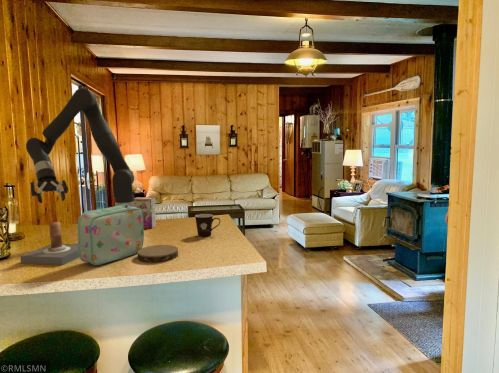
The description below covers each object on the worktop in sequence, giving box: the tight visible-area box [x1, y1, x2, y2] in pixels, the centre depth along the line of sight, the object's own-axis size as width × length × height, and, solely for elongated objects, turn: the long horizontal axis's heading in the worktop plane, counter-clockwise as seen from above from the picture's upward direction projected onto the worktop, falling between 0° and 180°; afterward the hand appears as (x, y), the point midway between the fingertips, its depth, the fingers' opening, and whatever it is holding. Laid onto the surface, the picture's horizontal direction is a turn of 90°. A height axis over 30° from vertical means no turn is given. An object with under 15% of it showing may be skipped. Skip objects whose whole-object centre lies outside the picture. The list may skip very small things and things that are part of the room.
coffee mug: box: [194, 213, 221, 238], centre depth 183 cm, size 12×9×10 cm
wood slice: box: [136, 244, 179, 264], centre depth 150 cm, size 16×16×3 cm
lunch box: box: [77, 204, 145, 266], centre depth 148 cm, size 27×10×21 cm, turn 149°
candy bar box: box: [134, 196, 157, 229], centre depth 204 cm, size 11×5×16 cm, turn 77°
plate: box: [20, 243, 80, 266], centre depth 151 cm, size 18×18×3 cm
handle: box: [48, 221, 66, 252], centre depth 150 cm, size 6×6×11 cm
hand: (52, 200), depth 159 cm, fingers open, 8 cm apart
